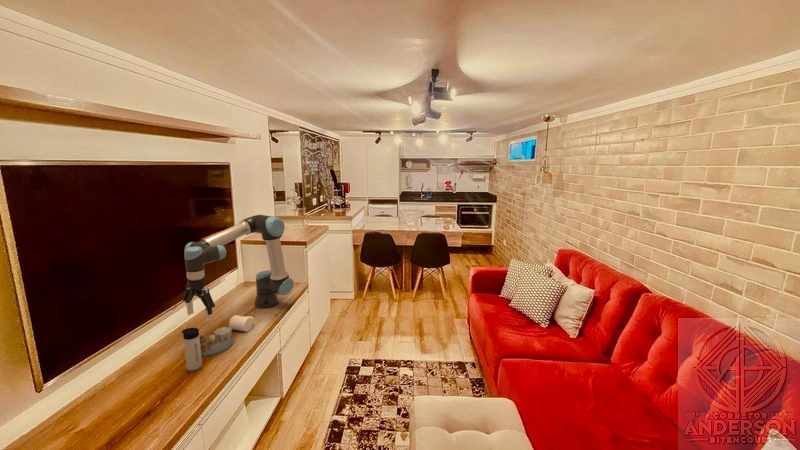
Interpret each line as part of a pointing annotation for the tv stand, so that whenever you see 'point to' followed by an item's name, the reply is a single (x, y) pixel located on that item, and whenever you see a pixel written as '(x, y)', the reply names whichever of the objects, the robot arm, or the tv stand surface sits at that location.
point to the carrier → (219, 341)
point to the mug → (241, 323)
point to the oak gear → (204, 344)
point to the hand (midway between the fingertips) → (199, 317)
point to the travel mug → (192, 349)
